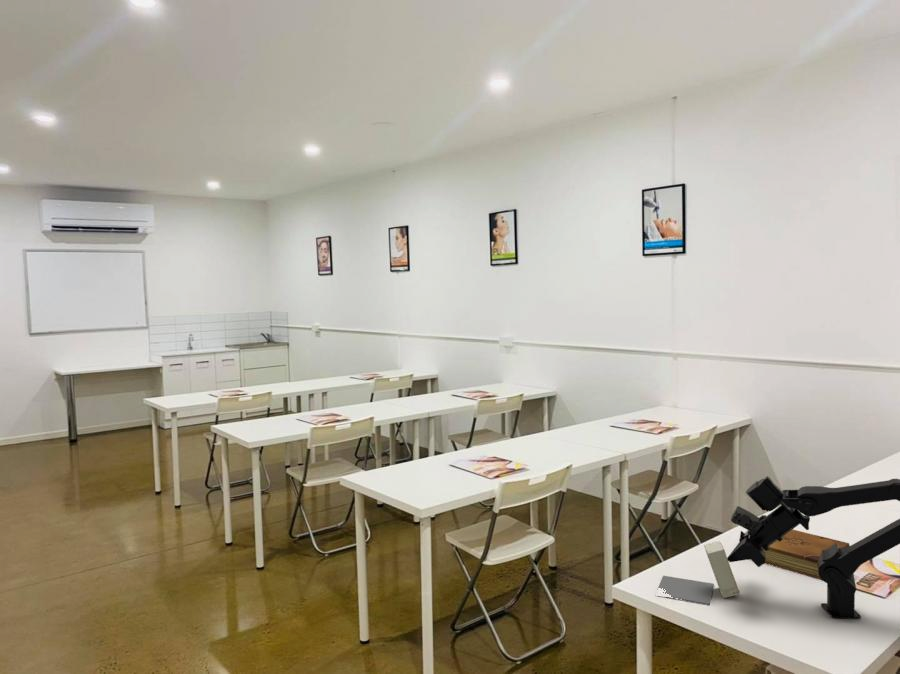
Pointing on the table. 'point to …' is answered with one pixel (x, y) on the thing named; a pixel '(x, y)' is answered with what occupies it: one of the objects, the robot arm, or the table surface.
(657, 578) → the table surface
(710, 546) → the skincare box
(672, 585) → the mat
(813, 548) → the diary
